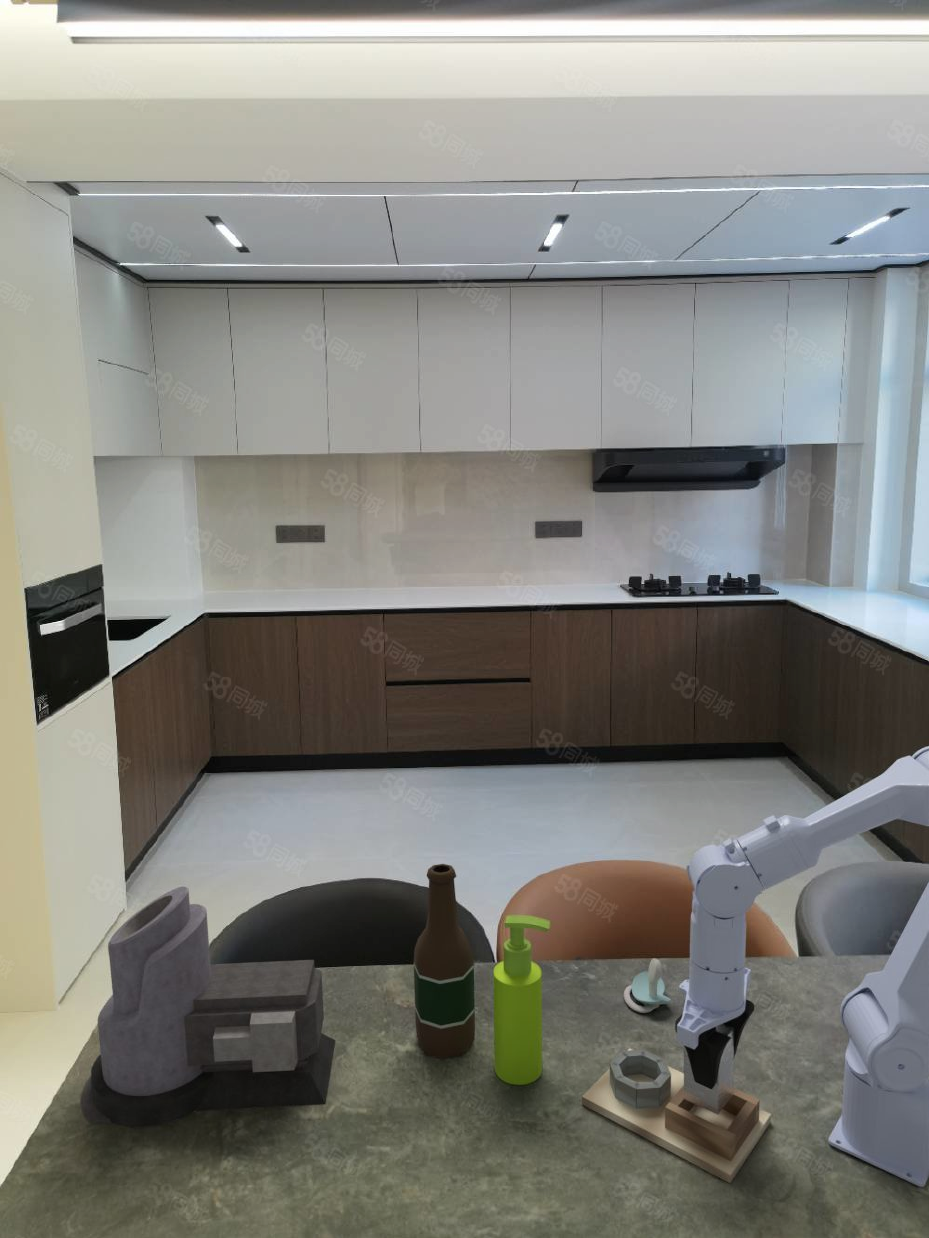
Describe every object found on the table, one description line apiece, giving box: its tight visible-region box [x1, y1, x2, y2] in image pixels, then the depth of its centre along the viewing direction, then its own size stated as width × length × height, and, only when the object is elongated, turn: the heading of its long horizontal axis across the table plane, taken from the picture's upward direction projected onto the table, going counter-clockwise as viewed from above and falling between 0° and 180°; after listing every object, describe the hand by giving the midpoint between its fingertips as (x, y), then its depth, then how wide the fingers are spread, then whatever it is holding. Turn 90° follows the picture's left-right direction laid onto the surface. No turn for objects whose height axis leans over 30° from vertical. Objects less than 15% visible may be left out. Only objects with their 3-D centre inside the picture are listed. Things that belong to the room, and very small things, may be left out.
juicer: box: [79, 886, 336, 1128], centre depth 104 cm, size 30×16×24 cm, turn 93°
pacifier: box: [623, 958, 671, 1014], centre depth 119 cm, size 7×6×6 cm
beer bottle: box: [413, 863, 476, 1060], centre depth 109 cm, size 8×8×24 cm
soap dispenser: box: [492, 914, 551, 1086], centre depth 104 cm, size 6×7×20 cm
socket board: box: [581, 1048, 772, 1184], centre depth 98 cm, size 18×11×4 cm, turn 50°
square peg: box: [683, 1024, 735, 1114], centre depth 94 cm, size 4×4×8 cm
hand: (713, 1072), depth 94 cm, fingers closed on square peg, 4 cm apart
